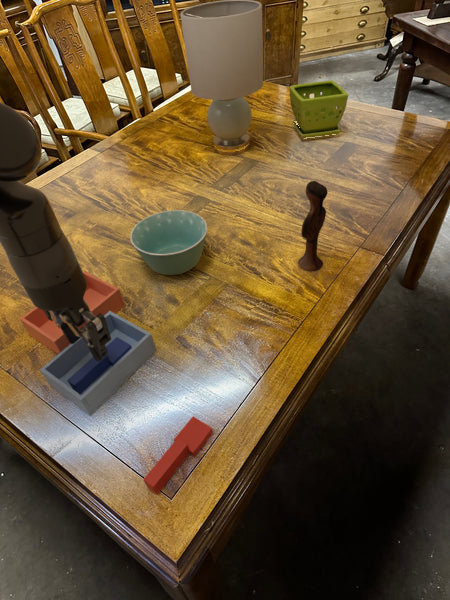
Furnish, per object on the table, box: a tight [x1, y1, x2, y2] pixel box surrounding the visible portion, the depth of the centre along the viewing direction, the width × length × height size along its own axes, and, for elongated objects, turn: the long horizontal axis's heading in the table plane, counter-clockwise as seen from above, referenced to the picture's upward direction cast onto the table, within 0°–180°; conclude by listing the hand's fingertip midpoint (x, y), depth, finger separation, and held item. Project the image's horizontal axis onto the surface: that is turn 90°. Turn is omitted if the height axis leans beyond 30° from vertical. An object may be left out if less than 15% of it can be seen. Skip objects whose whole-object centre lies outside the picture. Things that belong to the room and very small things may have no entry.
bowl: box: [129, 209, 208, 276], centre depth 87 cm, size 16×16×8 cm
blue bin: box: [39, 311, 157, 417], centre depth 70 cm, size 15×10×4 cm
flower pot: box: [289, 80, 349, 141], centre depth 125 cm, size 14×14×13 cm
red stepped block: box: [143, 415, 214, 496], centre depth 58 cm, size 11×4×3 cm, turn 144°
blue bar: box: [68, 337, 132, 394], centre depth 70 cm, size 11×4×3 cm, turn 144°
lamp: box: [180, 0, 264, 156], centre depth 115 cm, size 20×20×35 cm
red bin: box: [19, 270, 126, 355], centre depth 78 cm, size 15×10×4 cm
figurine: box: [297, 180, 329, 272], centre depth 80 cm, size 7×5×18 cm
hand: (88, 348), depth 66 cm, fingers open, 5 cm apart
